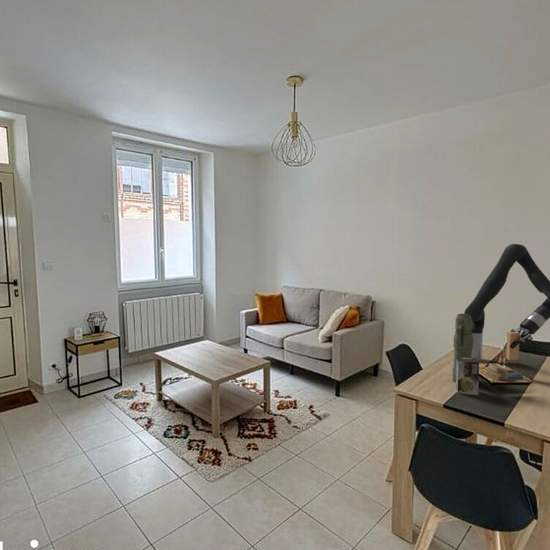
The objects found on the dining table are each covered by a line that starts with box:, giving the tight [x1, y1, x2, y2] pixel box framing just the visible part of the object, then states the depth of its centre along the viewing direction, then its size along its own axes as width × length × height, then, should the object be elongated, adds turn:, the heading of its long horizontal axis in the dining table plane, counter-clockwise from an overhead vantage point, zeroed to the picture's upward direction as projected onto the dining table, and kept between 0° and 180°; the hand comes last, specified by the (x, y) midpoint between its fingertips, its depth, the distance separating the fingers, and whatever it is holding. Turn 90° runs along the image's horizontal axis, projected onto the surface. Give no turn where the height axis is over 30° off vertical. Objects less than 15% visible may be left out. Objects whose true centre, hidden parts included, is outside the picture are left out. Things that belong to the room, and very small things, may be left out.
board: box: [505, 331, 520, 361], centre depth 189 cm, size 5×2×14 cm, turn 93°
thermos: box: [452, 313, 473, 383], centre depth 187 cm, size 9×12×35 cm
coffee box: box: [455, 357, 480, 396], centre depth 174 cm, size 9×6×16 cm
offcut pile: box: [486, 362, 509, 381], centre depth 189 cm, size 6×9×6 cm, turn 3°
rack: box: [484, 369, 529, 382], centre depth 190 cm, size 16×11×4 cm
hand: (508, 346), depth 188 cm, fingers closed on board, 2 cm apart
